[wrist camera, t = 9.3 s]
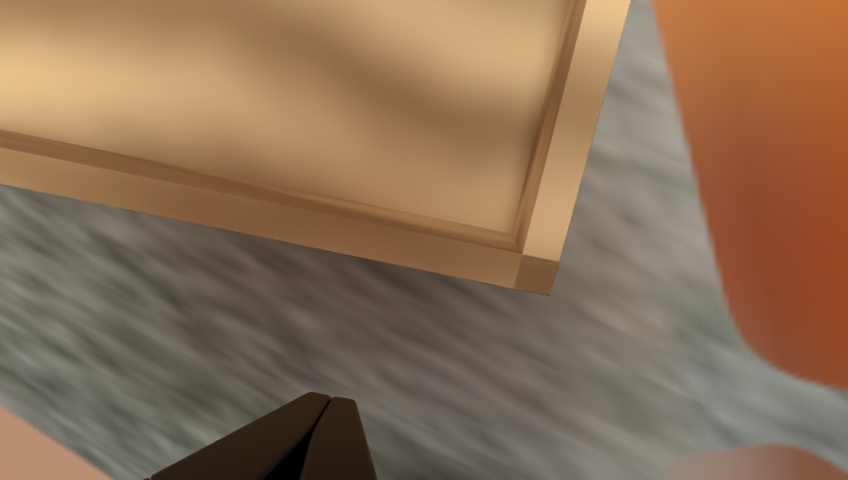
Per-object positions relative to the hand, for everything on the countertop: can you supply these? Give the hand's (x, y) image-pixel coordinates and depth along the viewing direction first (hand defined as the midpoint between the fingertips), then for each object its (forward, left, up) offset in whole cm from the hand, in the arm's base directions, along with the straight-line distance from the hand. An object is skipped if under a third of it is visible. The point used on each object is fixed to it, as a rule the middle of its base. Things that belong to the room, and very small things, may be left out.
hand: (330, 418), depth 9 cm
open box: (+7, +6, -12) cm, 15 cm away
